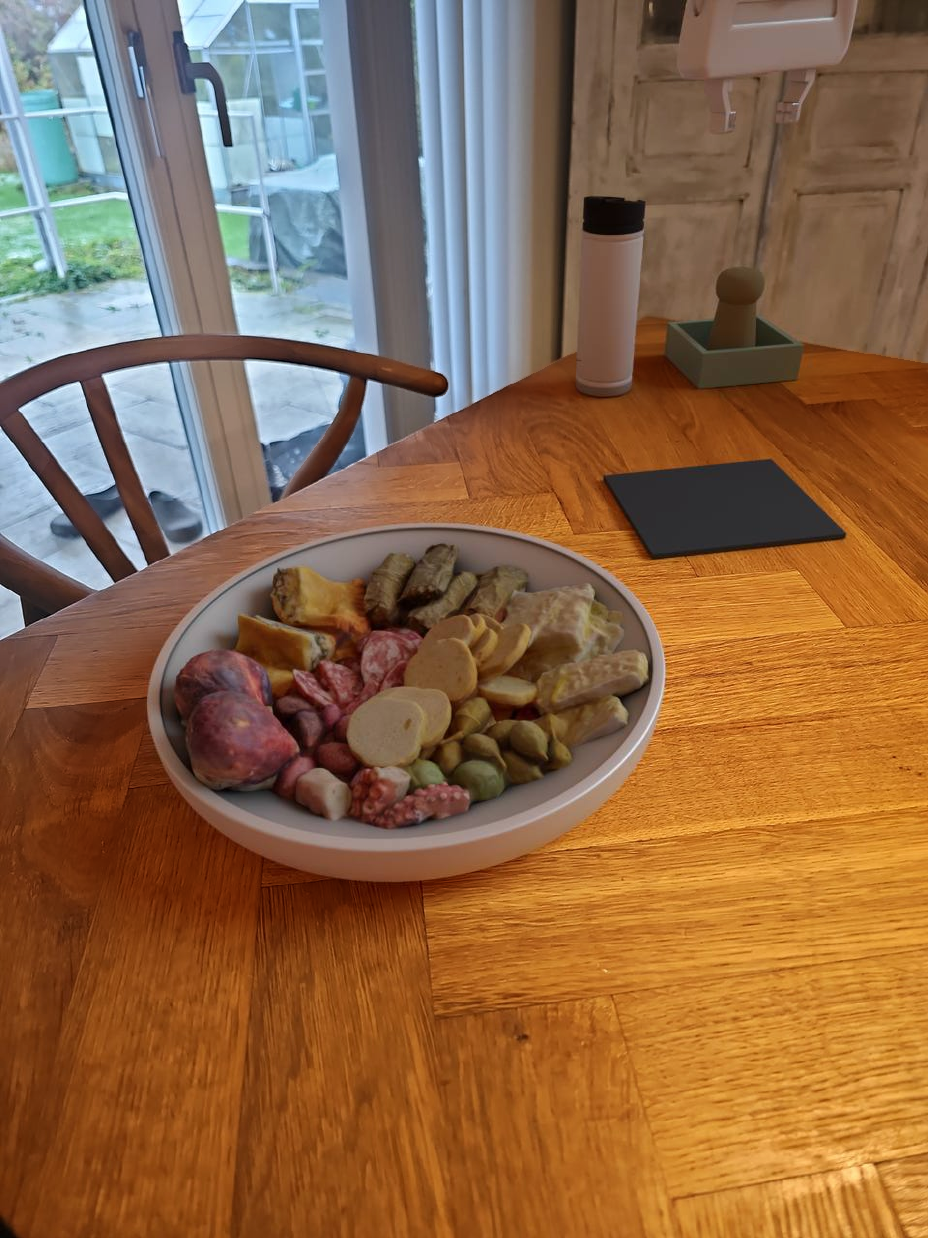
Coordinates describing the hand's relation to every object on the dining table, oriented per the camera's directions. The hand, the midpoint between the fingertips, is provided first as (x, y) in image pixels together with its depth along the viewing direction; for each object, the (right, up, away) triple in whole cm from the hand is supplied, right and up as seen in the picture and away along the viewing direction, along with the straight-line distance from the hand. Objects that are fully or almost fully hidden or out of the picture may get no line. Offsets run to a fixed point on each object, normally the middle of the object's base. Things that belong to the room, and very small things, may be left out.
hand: (754, 127), depth 83 cm
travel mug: (-13, -22, +13) cm, 29 cm away
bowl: (-32, -54, -30) cm, 69 cm away
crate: (+3, -19, +17) cm, 25 cm away
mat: (-7, -39, -10) cm, 41 cm away
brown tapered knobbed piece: (+3, -19, +17) cm, 25 cm away
